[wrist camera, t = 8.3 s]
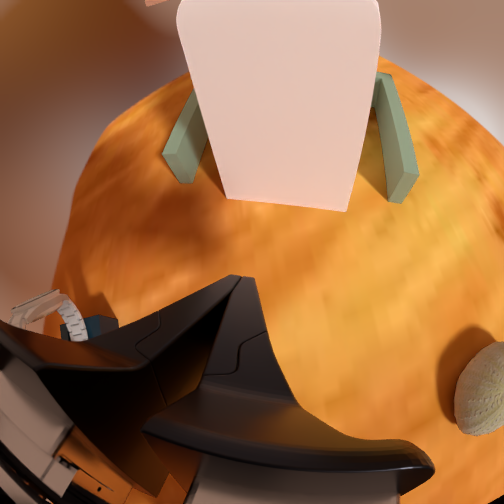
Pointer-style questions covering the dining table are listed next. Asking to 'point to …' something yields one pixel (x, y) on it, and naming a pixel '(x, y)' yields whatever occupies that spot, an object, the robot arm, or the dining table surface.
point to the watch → (69, 312)
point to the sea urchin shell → (481, 392)
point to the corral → (383, 100)
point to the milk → (284, 93)
